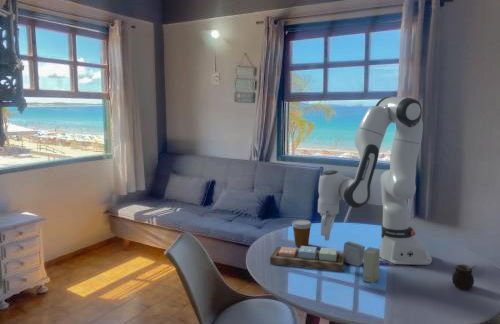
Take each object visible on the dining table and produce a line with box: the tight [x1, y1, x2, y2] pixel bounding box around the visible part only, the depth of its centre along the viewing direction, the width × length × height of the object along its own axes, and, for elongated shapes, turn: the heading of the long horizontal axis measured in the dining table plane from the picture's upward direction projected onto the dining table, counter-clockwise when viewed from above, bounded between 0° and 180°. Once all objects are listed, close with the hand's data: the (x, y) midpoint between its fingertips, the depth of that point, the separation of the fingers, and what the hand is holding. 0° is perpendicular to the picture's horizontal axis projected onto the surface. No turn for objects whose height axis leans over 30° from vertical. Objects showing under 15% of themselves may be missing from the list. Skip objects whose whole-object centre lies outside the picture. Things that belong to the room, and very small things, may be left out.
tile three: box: [278, 246, 298, 258], centre depth 174 cm, size 7×7×3 cm
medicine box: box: [342, 240, 366, 267], centre depth 168 cm, size 8×4×9 cm, turn 46°
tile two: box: [298, 245, 318, 259], centre depth 171 cm, size 7×7×3 cm
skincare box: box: [362, 246, 380, 284], centre depth 152 cm, size 6×4×12 cm
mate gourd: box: [451, 264, 477, 291], centre depth 144 cm, size 7×8×10 cm
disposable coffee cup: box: [291, 219, 312, 248], centre depth 190 cm, size 10×10×12 cm
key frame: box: [269, 246, 345, 272], centre depth 171 cm, size 31×13×3 cm, turn 72°
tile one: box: [319, 247, 338, 262], centre depth 168 cm, size 7×7×3 cm
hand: (327, 239), depth 167 cm, fingers closed
